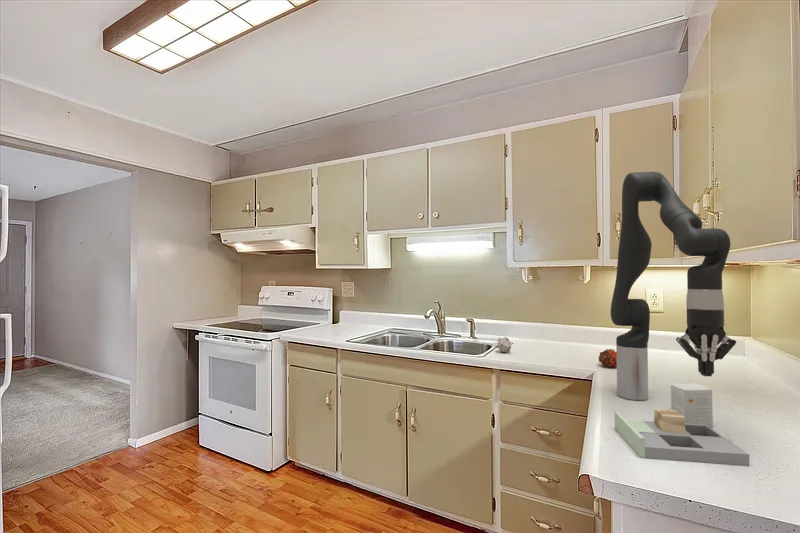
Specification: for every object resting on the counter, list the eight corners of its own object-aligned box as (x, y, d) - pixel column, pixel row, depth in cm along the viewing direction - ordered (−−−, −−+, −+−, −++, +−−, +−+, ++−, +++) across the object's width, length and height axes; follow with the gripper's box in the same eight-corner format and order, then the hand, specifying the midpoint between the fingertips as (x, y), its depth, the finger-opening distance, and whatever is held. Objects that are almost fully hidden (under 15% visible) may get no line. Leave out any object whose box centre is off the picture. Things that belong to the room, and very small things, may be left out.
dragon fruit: (607, 373, 170) (608, 371, 180) (625, 363, 167) (625, 361, 178) (594, 356, 173) (596, 354, 184) (612, 345, 171) (612, 345, 181)
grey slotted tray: (614, 428, 108) (614, 411, 108) (705, 434, 104) (705, 416, 104) (640, 457, 91) (639, 438, 91) (749, 465, 87) (749, 445, 87)
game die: (508, 360, 205) (516, 346, 200) (492, 354, 205) (500, 341, 200) (507, 348, 212) (515, 335, 207) (492, 343, 213) (500, 329, 207)
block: (654, 424, 104) (654, 409, 104) (675, 425, 103) (675, 410, 103) (663, 431, 99) (662, 415, 99) (685, 433, 98) (685, 417, 98)
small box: (697, 419, 114) (696, 383, 114) (713, 427, 108) (713, 389, 108) (670, 420, 113) (669, 383, 113) (684, 428, 108) (684, 389, 108)
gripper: (725, 306, 102) (726, 373, 102) (668, 305, 105) (669, 370, 105) (744, 308, 95) (746, 380, 95) (683, 308, 98) (684, 378, 97)
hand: (706, 375), depth 100 cm, fingers closed
